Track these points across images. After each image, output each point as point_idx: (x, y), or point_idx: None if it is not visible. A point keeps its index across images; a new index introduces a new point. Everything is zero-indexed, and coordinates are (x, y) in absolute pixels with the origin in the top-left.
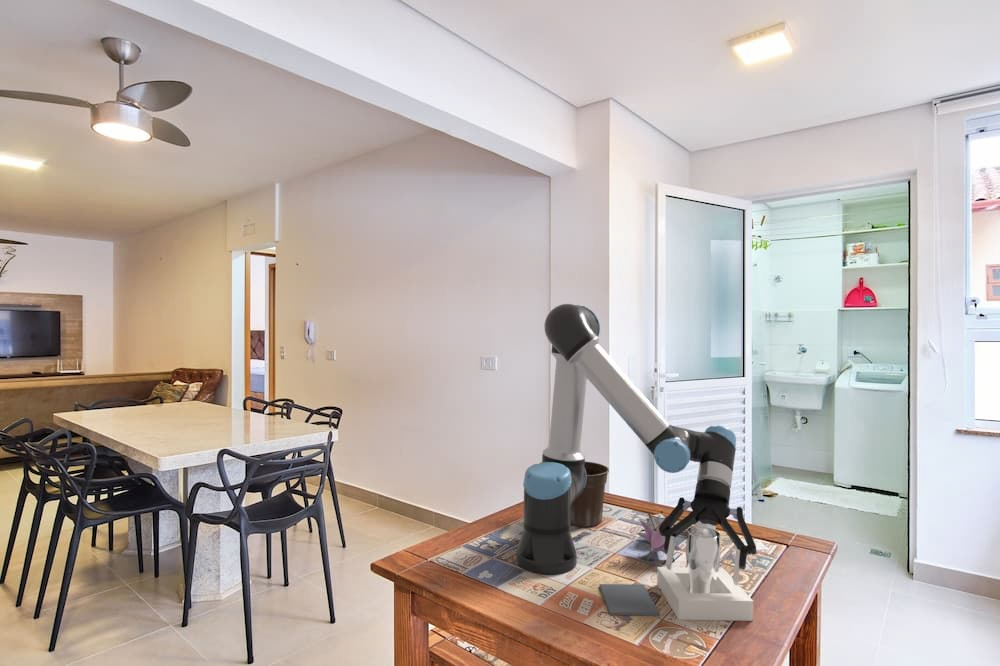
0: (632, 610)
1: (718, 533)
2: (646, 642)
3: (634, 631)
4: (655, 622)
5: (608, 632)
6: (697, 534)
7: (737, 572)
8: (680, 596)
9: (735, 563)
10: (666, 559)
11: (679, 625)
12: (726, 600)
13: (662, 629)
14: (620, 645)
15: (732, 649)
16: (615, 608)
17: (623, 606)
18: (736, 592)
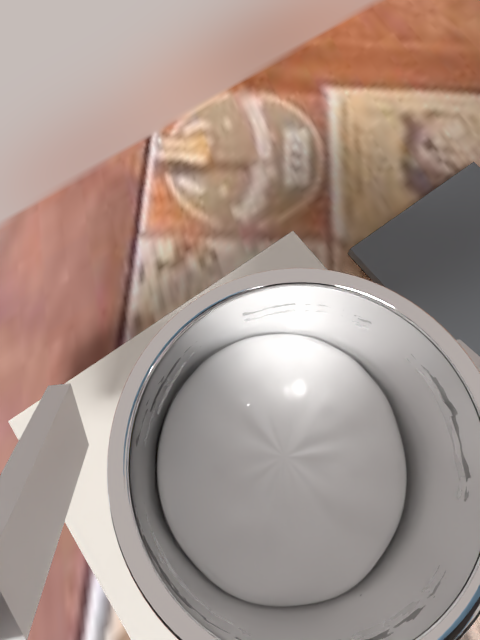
0: (426, 208)
1: (129, 539)
2: (311, 107)
3: (363, 134)
4: (337, 210)
5: (415, 92)
6: (412, 603)
7: (34, 416)
8: (299, 262)
9: (32, 455)
10: (475, 353)
11: (269, 237)
12: (122, 347)
13: (303, 187)
14: (358, 63)
15: (93, 207)
16: (474, 187)
17: (463, 214)
18: (92, 464)
